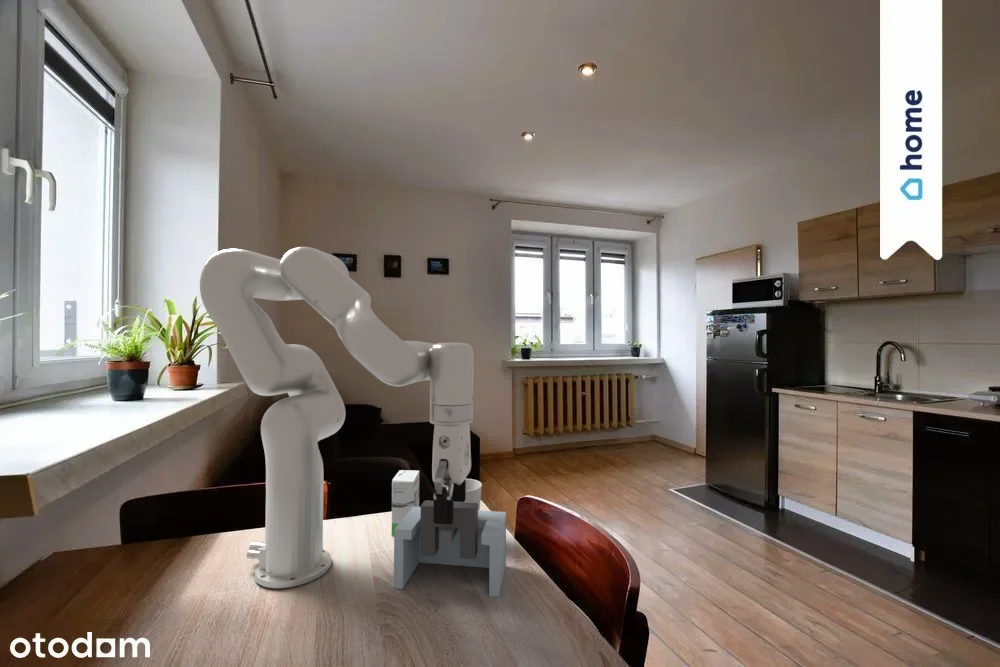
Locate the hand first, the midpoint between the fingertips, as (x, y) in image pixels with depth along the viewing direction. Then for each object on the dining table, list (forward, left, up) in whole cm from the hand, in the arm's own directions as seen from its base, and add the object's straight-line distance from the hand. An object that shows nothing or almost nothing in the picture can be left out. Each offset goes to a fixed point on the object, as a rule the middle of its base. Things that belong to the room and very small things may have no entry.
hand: (450, 511), depth 76 cm
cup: (-1, +15, -12) cm, 20 cm away
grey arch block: (0, 0, -7) cm, 7 cm away
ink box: (-15, +20, -13) cm, 28 cm away
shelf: (0, +2, -12) cm, 12 cm away
